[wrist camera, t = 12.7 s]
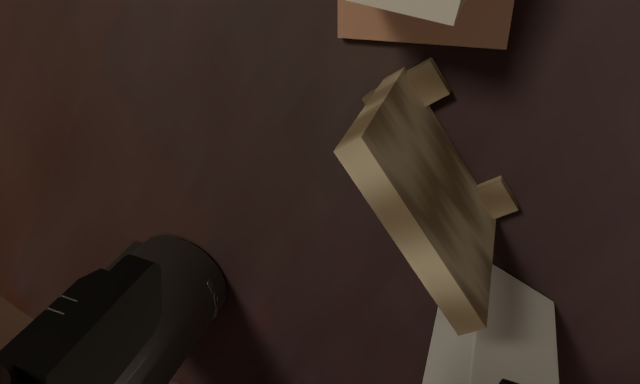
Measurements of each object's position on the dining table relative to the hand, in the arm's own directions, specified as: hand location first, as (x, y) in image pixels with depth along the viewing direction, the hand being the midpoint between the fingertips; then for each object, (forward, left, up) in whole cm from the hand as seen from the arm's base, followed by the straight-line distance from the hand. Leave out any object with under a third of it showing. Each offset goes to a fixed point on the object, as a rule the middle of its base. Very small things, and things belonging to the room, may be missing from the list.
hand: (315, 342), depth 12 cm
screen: (0, -7, -25) cm, 25 cm away
